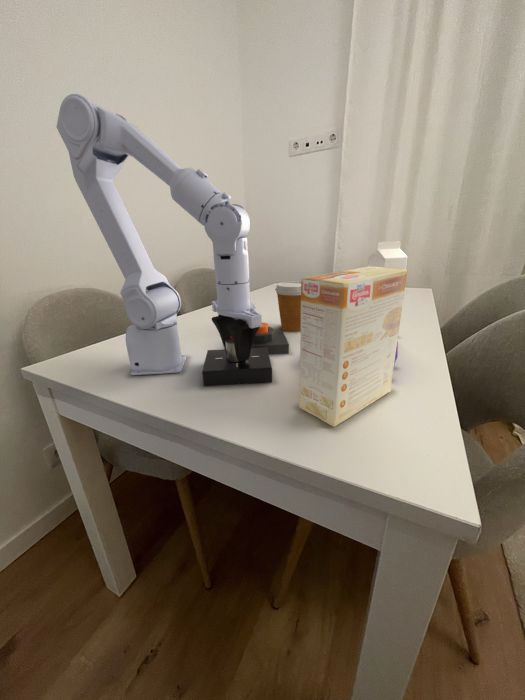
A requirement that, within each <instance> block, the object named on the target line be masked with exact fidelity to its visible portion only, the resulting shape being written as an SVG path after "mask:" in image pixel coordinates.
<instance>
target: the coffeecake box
mask: <svg viewBox="0 0 525 700" xmlns="http://www.w3.org/2000/svg"><path fill="white" fill-rule="evenodd" d="M407 274H408V270H407V269H406V270H399V269H388V268H380V267H368V266H364V267H359V268H353V269H347V270H341V271H336V272H329V273H324V274H318V275H313V276H306V277H301V278H300V282H301V331H300V336H299V337H300V340H299V342H300V343H299V344H300V345H299V404H298V405H299V407H298V408H299V409H301V410H302V411H304V412H306V413H308V414H310V415H311V416H314V417H316V418H318V419H319V420H320V421H322V422H324V423H325V424H328V425H329V426H331V427H332V428H336V427H337V426H338V425H340V424H341V423H343V422H345V421H347V420H348V419H349V418H352V416H354V415H355V414H357V413H359V412H360V411H362V410H363V409H365V408H367V407H369V406H370V405H371V404H373V403H375V402H376V401H377V400H379V399H380V398H382V397H384V396H386V395H387V394H389V393H390V392H391V391H392V383H393V376H394V375H393V374H394V369H395V365H394V362H395V355H396V347H397V341H398V339H399V332H400V324H401V316H402V311H403V304H404V297H405V288H406V281H407V276H408V275H407ZM395 363H396V362H395Z"/></svg>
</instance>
